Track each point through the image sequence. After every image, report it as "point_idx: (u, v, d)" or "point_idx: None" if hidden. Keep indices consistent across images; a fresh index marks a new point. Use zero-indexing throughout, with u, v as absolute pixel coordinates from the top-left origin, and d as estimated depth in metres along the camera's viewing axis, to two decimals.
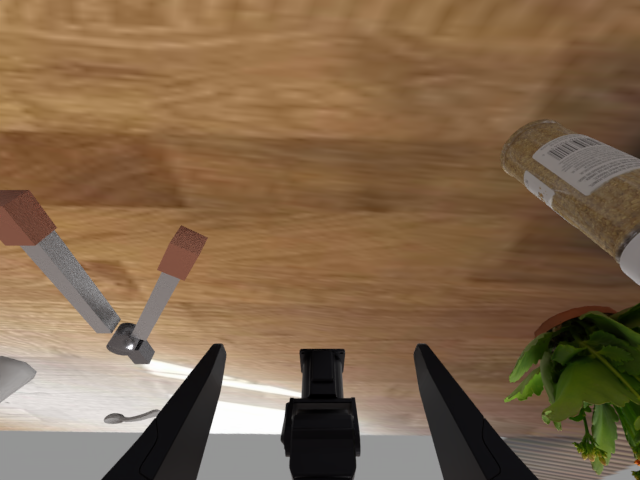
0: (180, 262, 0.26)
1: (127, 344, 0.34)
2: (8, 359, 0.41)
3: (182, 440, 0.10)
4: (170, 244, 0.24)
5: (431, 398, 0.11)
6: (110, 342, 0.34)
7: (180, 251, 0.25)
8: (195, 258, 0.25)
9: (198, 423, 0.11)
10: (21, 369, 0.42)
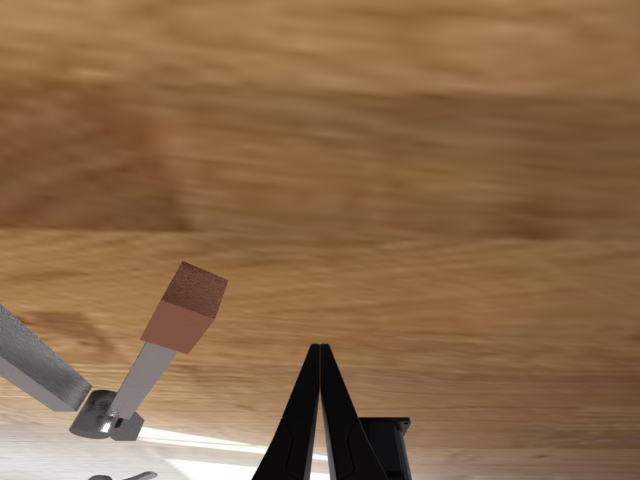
0: (181, 329, 0.14)
1: (100, 427, 0.23)
2: None
3: (310, 440, 0.10)
4: (162, 302, 0.13)
5: (322, 398, 0.11)
6: (75, 425, 0.22)
7: (180, 312, 0.13)
8: (208, 323, 0.14)
9: (314, 424, 0.11)
10: None
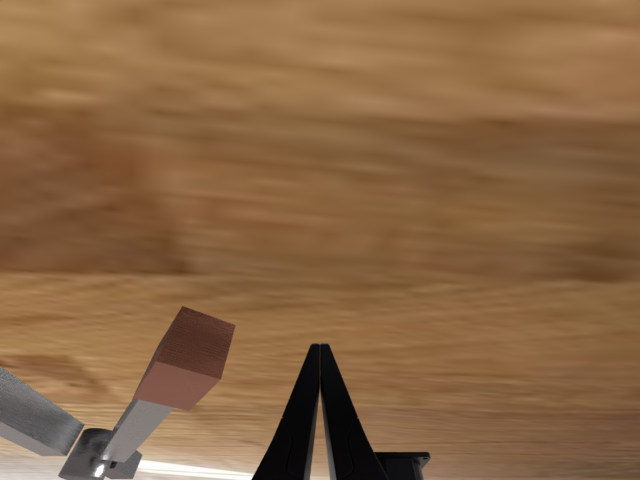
0: (181, 388, 0.12)
1: (92, 472, 0.21)
2: None
3: (310, 440, 0.10)
4: (158, 363, 0.11)
5: (322, 398, 0.11)
6: (64, 471, 0.20)
7: (180, 373, 0.11)
8: (213, 383, 0.12)
9: (314, 423, 0.11)
10: None
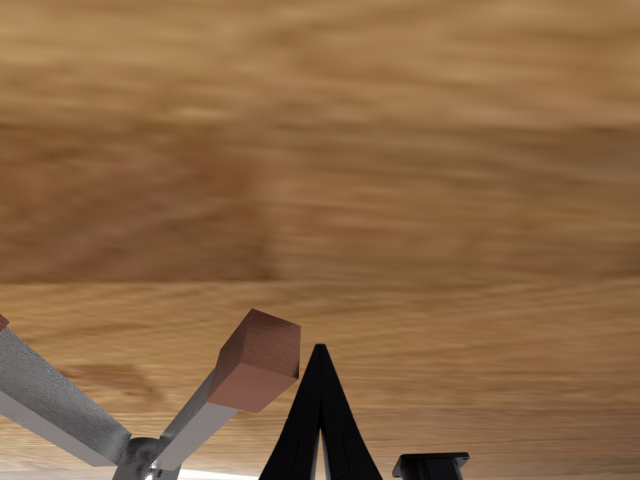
0: (256, 390, 0.12)
1: None
2: None
3: (316, 440, 0.10)
4: (241, 364, 0.11)
5: None
6: None
7: (260, 374, 0.11)
8: (290, 383, 0.12)
9: (319, 423, 0.11)
10: None
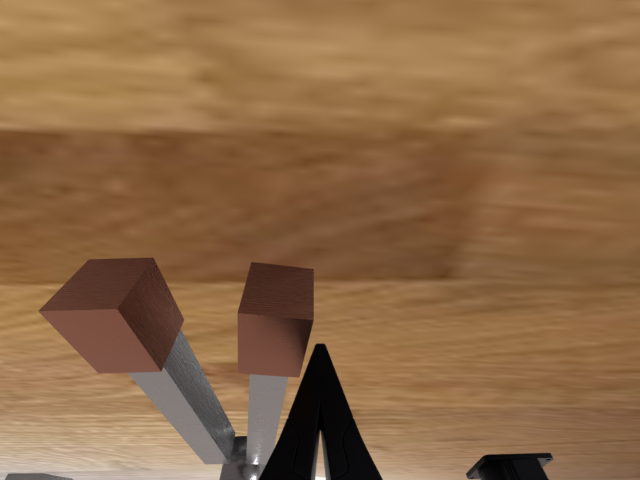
0: (278, 347, 0.11)
1: (245, 478, 0.21)
2: (46, 477, 0.28)
3: (316, 440, 0.10)
4: (241, 316, 0.10)
5: None
6: None
7: (268, 323, 0.10)
8: (307, 328, 0.10)
9: (319, 423, 0.11)
10: None
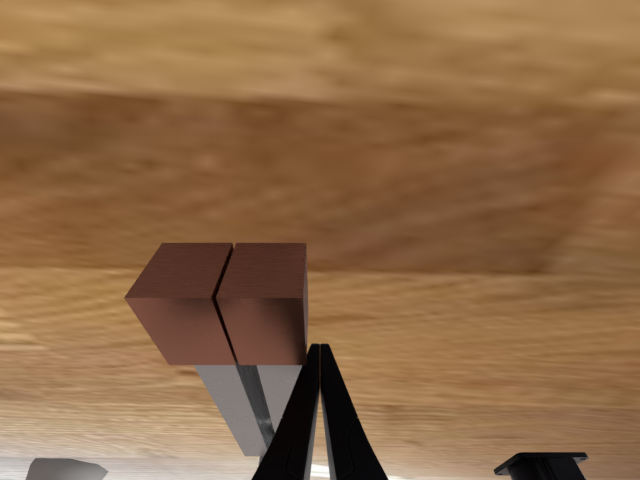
0: (273, 333, 0.09)
1: None
2: (73, 463, 0.28)
3: (310, 440, 0.10)
4: (221, 300, 0.08)
5: (322, 398, 0.11)
6: None
7: (253, 306, 0.09)
8: (299, 308, 0.09)
9: (314, 423, 0.11)
10: (91, 475, 0.28)
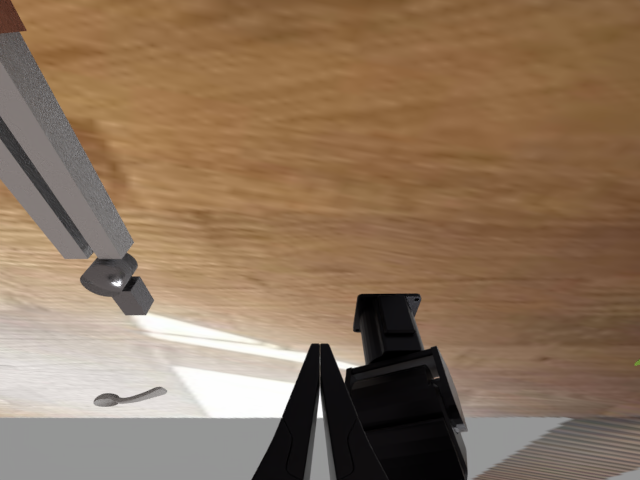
0: None
1: (99, 272, 0.22)
2: None
3: (310, 440, 0.10)
4: None
5: (322, 398, 0.11)
6: (81, 276, 0.22)
7: None
8: None
9: (314, 423, 0.11)
10: None
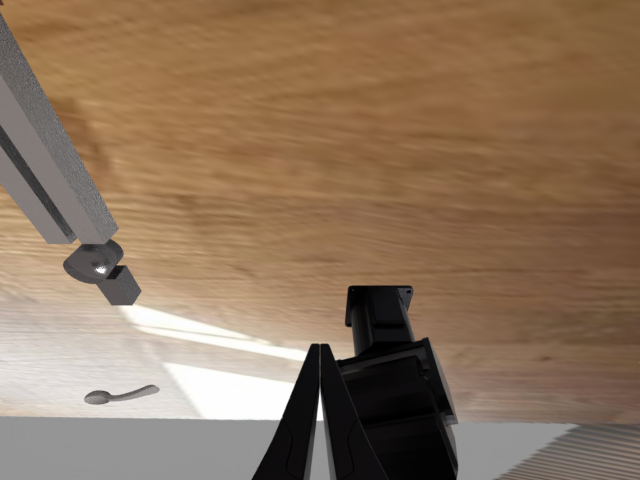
0: None
1: (82, 257, 0.22)
2: None
3: (310, 440, 0.10)
4: None
5: (322, 398, 0.11)
6: (64, 262, 0.22)
7: None
8: None
9: (314, 423, 0.11)
10: None
